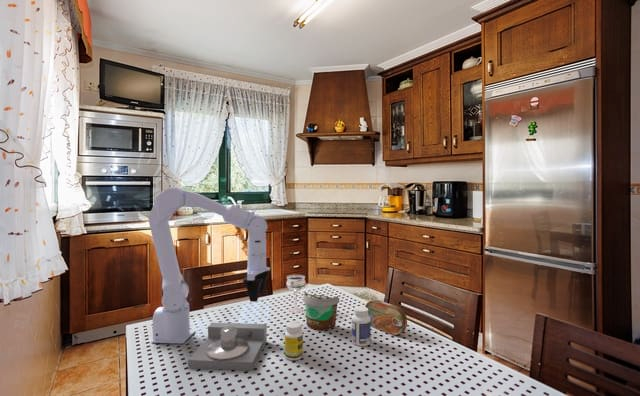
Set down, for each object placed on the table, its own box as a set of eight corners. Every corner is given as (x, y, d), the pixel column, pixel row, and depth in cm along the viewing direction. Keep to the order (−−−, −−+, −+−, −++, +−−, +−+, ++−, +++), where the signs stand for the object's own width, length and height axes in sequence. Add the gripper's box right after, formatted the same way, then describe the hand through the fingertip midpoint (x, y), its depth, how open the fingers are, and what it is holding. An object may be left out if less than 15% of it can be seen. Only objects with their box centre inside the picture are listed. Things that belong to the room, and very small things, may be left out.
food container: (296, 328, 103) (296, 296, 103) (304, 320, 109) (304, 290, 108) (333, 334, 98) (333, 301, 98) (339, 326, 104) (339, 295, 104)
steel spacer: (219, 350, 83) (219, 333, 83) (223, 343, 87) (222, 326, 87) (235, 350, 83) (235, 332, 83) (238, 342, 87) (238, 326, 87)
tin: (363, 323, 107) (363, 298, 107) (369, 321, 109) (369, 295, 109) (402, 339, 95) (402, 311, 95) (408, 336, 97) (408, 308, 97)
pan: (199, 359, 80) (199, 356, 80) (215, 339, 91) (215, 337, 91) (241, 361, 79) (241, 358, 79) (252, 341, 90) (252, 338, 90)
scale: (188, 367, 80) (187, 347, 80) (212, 339, 95) (212, 322, 95) (252, 370, 79) (252, 350, 79) (266, 341, 94) (266, 324, 94)
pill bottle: (372, 340, 95) (372, 307, 95) (367, 348, 90) (367, 313, 90) (354, 336, 97) (355, 304, 97) (348, 344, 92) (349, 310, 92)
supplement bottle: (300, 361, 83) (300, 329, 83) (282, 359, 84) (282, 327, 84) (304, 352, 88) (304, 321, 88) (287, 350, 89) (287, 320, 88)
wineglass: (296, 305, 123) (296, 273, 123) (309, 310, 118) (309, 277, 118) (282, 310, 118) (282, 277, 118) (295, 315, 113) (295, 280, 113)
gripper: (264, 259, 95) (264, 305, 95) (274, 249, 109) (274, 290, 109) (240, 258, 95) (240, 304, 95) (253, 249, 110) (253, 289, 110)
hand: (257, 296), depth 103 cm, fingers open, 7 cm apart
